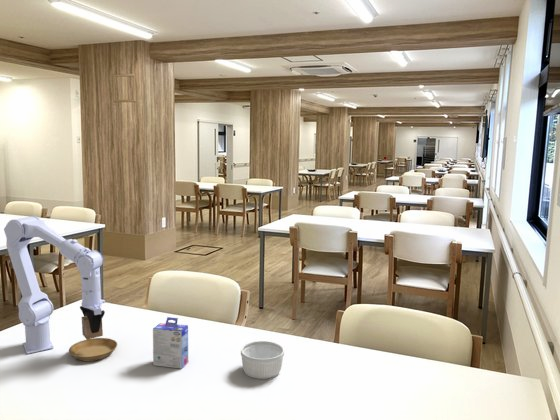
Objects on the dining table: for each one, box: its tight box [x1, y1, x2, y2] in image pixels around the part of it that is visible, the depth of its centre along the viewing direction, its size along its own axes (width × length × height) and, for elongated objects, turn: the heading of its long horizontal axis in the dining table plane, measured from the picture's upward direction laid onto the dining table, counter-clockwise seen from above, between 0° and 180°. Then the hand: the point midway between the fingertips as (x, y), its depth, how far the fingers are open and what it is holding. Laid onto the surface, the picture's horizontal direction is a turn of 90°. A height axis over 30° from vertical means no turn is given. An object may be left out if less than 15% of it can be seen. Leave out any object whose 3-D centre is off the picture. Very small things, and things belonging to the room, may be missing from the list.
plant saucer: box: [68, 337, 118, 362], centre depth 154 cm, size 15×15×3 cm
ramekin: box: [240, 340, 285, 380], centre depth 143 cm, size 13×13×7 cm
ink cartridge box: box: [152, 316, 189, 369], centre depth 147 cm, size 10×6×14 cm, turn 78°
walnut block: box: [81, 315, 104, 340], centre depth 152 cm, size 5×5×6 cm
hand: (92, 329), depth 153 cm, fingers closed on walnut block, 5 cm apart
